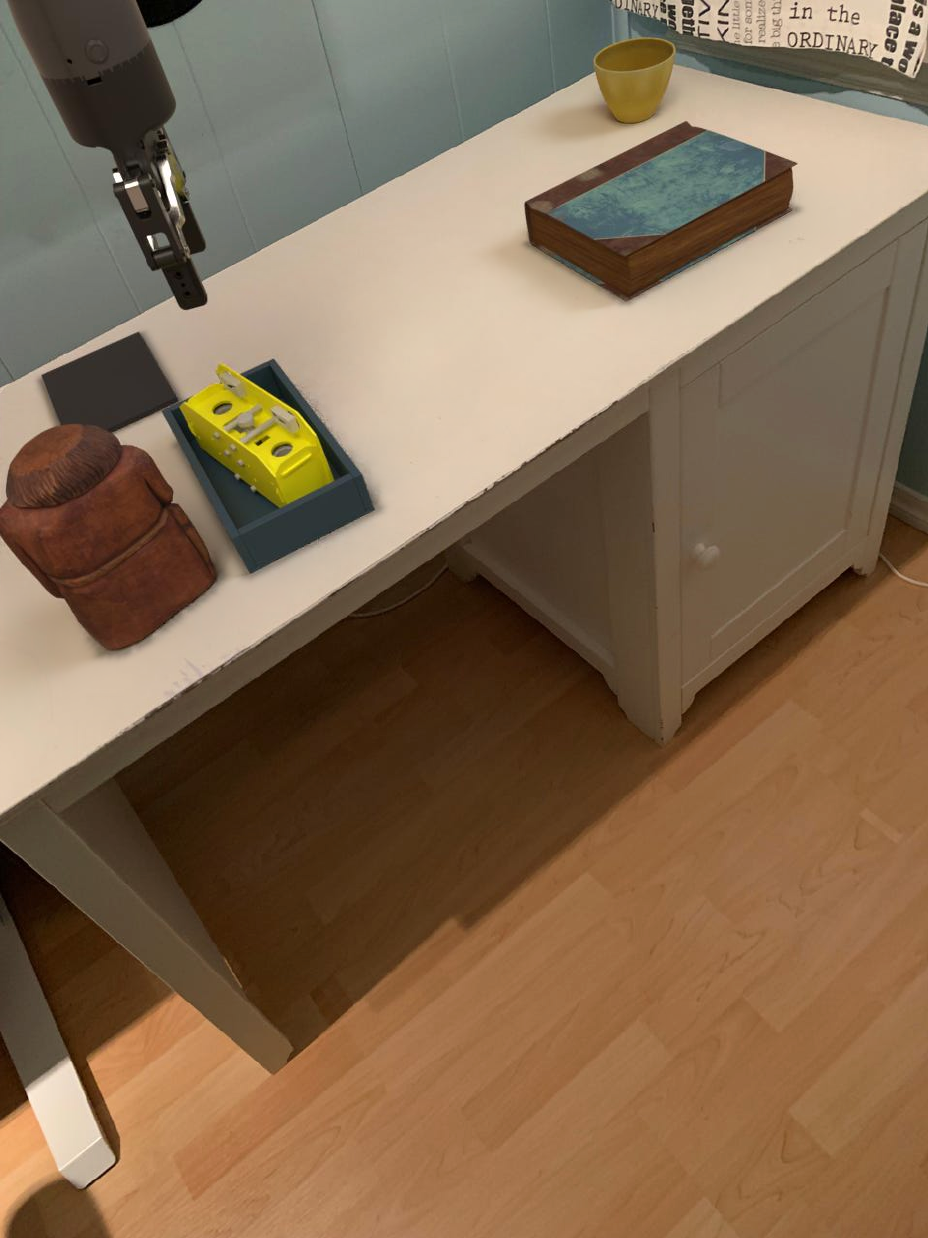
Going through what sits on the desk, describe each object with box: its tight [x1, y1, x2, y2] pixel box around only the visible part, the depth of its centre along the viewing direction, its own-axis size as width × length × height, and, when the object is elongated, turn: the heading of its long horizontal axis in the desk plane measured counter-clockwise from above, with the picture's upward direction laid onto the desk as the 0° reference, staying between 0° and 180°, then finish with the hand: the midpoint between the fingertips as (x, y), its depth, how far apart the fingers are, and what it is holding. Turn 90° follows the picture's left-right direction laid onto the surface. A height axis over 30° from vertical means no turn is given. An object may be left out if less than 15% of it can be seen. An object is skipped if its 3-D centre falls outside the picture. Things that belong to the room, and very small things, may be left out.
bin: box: [160, 358, 375, 574], centre depth 81 cm, size 12×22×4 cm, turn 29°
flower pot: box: [592, 37, 676, 124], centre depth 112 cm, size 10×10×7 cm
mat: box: [41, 331, 179, 433], centre depth 96 cm, size 12×16×1 cm
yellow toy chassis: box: [180, 362, 335, 508], centre depth 79 cm, size 16×6×8 cm, turn 43°
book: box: [523, 120, 799, 302], centre depth 95 cm, size 23×18×5 cm
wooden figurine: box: [0, 424, 217, 650], centre depth 67 cm, size 12×6×18 cm, turn 134°
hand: (195, 277), depth 69 cm, fingers open, 8 cm apart
